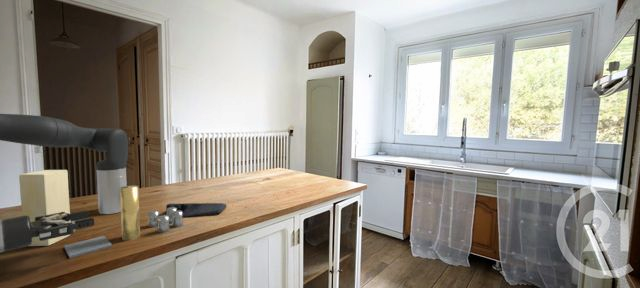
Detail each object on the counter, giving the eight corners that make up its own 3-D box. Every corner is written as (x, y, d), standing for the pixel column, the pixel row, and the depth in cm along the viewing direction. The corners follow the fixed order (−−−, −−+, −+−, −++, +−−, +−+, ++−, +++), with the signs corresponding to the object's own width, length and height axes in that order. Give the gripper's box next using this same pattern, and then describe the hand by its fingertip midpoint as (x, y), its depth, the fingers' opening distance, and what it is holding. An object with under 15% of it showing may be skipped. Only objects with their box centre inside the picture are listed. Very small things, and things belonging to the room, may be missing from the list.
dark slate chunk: (221, 218, 101) (221, 206, 101) (159, 220, 98) (159, 208, 98) (228, 205, 116) (228, 195, 116) (175, 207, 113) (175, 196, 113)
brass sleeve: (120, 237, 82) (118, 187, 81) (137, 233, 86) (135, 184, 84) (124, 242, 79) (122, 190, 78) (142, 237, 83) (140, 187, 81)
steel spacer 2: (156, 231, 87) (156, 216, 87) (167, 228, 90) (166, 214, 89) (160, 234, 85) (160, 219, 85) (171, 231, 88) (170, 216, 87)
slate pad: (64, 247, 75) (64, 245, 75) (104, 237, 82) (104, 235, 82) (69, 258, 69) (69, 256, 69) (112, 246, 76) (111, 244, 76)
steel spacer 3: (164, 222, 94) (164, 209, 94) (171, 219, 97) (172, 206, 97) (171, 224, 93) (171, 210, 93) (178, 221, 96) (178, 208, 96)
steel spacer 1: (147, 226, 91) (146, 212, 91) (157, 223, 94) (156, 209, 94) (150, 228, 89) (149, 214, 89) (160, 225, 92) (160, 211, 92)
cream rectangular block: (47, 234, 83) (42, 169, 81) (72, 234, 84) (68, 169, 82) (20, 246, 75) (15, 174, 73) (48, 246, 76) (43, 174, 74)
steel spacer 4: (171, 225, 92) (170, 212, 92) (180, 223, 94) (180, 209, 94) (174, 228, 90) (174, 214, 90) (184, 225, 92) (184, 211, 92)
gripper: (-1, 228, 57) (95, 210, 70) (-1, 213, 66) (84, 199, 79) (2, 261, 58) (97, 237, 70) (2, 242, 67) (86, 223, 79)
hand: (90, 217), depth 74 cm, fingers open, 8 cm apart
